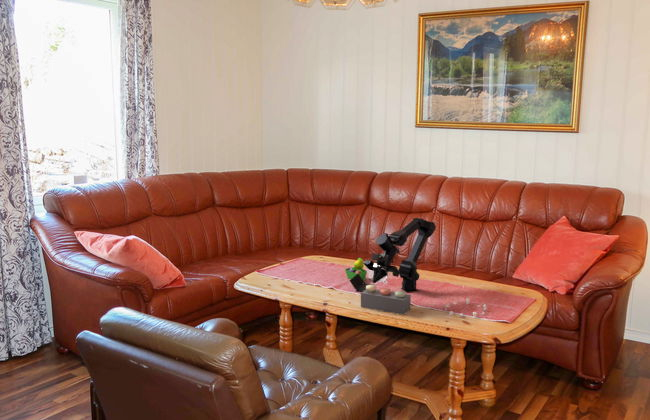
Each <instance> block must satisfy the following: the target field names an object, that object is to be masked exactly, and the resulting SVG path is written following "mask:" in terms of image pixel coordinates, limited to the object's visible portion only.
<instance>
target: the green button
mask: <svg viewBox="0 0 650 420" xmlns="http://www.w3.org/2000/svg"><path fill="white" fill-rule="evenodd" d="M405 294H406V291H404V290H397V291H395V297H398V298H403V297H405Z"/></svg>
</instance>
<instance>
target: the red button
mask: <svg viewBox="0 0 650 420" xmlns="http://www.w3.org/2000/svg"><path fill="white" fill-rule="evenodd" d="M379 290H380V294H382V295H390V294H391V292H392V291H391V289H390V288H380V289H379Z"/></svg>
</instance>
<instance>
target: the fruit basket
mask: <svg viewBox="0 0 650 420" xmlns="http://www.w3.org/2000/svg"><path fill="white" fill-rule="evenodd" d="M364 262H365V260H364V259H363V258H361V257H359V258H357V259H356V261H354V263H353V266H351V267H349V268H345V269H344V271H345V274H346V278H347V279H349V280H351V279H352V278H353V277H354V276H356V275H357V274H359V275H360V277H361V278H362V280H363V281H365V280H366V277H367V273H368V270H365V269H363V268H364V266H365V265H364V264H363V263H364Z"/></svg>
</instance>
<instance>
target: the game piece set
mask: <svg viewBox="0 0 650 420" xmlns="http://www.w3.org/2000/svg"><path fill="white" fill-rule="evenodd" d="M470 301H471V300H470V298H469V297H466V299H465V303H466V305H469V304H470ZM449 302H450V299H447V301H446V303H447V304H445V305H444V306H445V307H444V309H445V311H447V308H450V307H451V304H450V303H449ZM453 304H454V305H458V303H457V298H455V299H454V301H453ZM481 306H482V304H480V305H479V304H477V307H478V308H480V307H481ZM482 307H483V311H482V312H481V315H483V316H484V315H486V313H485V312H484V311H486V310H487V304H483V306H482ZM448 315H449V316H454V312H453V311H452V310H450V311H449V314H448ZM472 315H473V316H472V318H474V319H475V318H478V317H477V315H478V314H477V312H476V311H473V312H472ZM459 316H460V317H461V318H463V317H465V314H463V312H461V313H460V315H459Z"/></svg>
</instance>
